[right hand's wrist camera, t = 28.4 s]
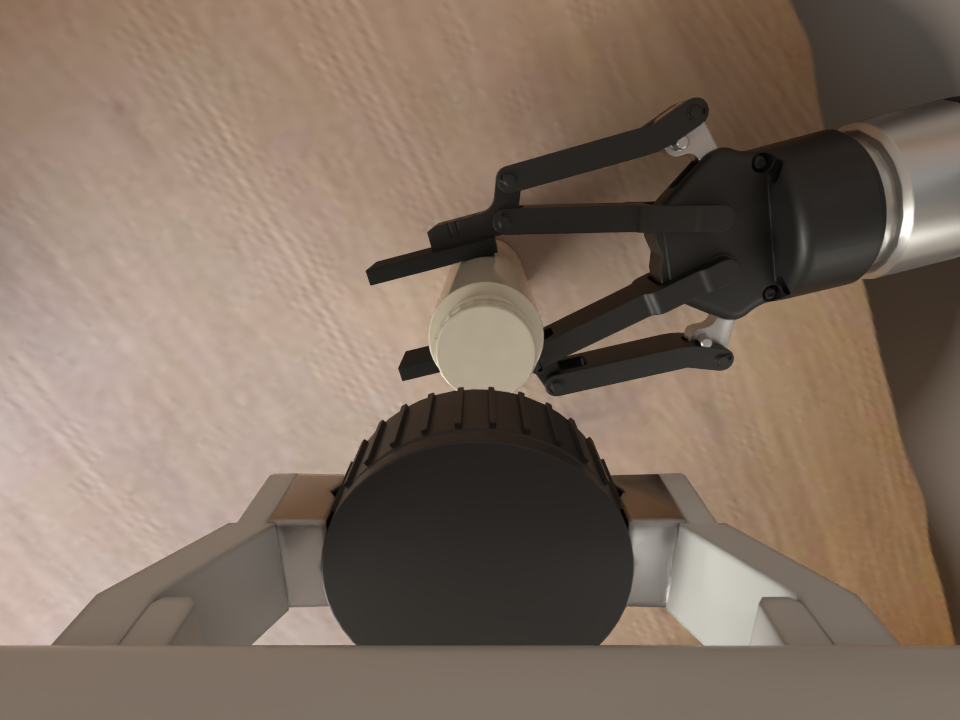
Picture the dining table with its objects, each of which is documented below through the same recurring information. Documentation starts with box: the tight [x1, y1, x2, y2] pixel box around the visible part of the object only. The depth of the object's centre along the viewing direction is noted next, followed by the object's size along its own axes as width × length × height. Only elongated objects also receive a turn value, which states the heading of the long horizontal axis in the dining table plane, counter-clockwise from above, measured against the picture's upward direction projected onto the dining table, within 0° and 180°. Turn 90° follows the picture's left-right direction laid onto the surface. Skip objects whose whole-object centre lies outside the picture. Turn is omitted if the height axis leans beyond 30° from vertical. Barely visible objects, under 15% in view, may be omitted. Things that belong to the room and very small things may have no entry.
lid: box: [321, 387, 634, 645], centre depth 9 cm, size 5×5×2 cm
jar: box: [428, 239, 544, 393], centre depth 26 cm, size 4×4×15 cm
